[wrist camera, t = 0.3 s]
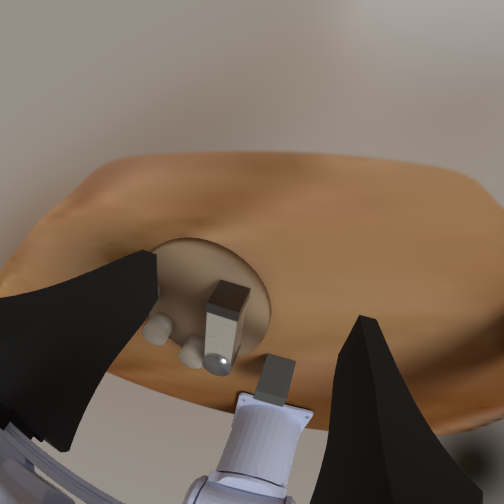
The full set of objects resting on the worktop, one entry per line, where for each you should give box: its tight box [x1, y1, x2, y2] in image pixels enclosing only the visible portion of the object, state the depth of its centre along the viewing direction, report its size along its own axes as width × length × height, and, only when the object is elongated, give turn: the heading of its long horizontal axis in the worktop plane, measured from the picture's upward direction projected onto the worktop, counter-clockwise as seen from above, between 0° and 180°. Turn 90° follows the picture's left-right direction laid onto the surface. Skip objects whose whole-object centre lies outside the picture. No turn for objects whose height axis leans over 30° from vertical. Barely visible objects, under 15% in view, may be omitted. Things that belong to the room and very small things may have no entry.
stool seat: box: [142, 238, 271, 369], centre depth 22 cm, size 11×11×3 cm
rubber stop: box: [253, 354, 296, 407], centre depth 23 cm, size 1×2×4 cm, turn 81°
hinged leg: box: [202, 280, 251, 376], centre depth 21 cm, size 7×2×3 cm, turn 171°
